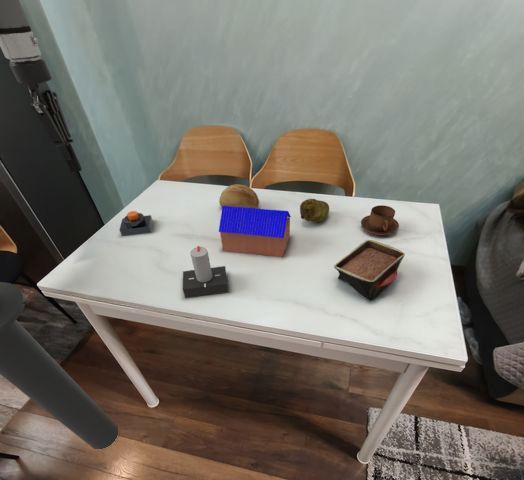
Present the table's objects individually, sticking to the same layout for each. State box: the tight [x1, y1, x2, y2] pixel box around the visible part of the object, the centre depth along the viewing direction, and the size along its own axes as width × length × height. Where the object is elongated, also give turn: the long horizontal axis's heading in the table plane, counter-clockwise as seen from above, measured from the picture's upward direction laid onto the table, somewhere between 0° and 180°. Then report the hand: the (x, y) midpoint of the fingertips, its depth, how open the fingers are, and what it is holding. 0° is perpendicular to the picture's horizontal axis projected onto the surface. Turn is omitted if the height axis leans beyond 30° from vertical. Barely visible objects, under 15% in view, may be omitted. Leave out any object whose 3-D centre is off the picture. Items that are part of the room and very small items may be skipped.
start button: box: [126, 210, 139, 221], centre depth 104 cm, size 4×4×2 cm
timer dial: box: [189, 245, 212, 282], centre depth 81 cm, size 4×4×8 cm
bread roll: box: [218, 183, 260, 208], centre depth 111 cm, size 10×15×8 cm, turn 81°
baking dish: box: [333, 239, 406, 302], centre depth 82 cm, size 14×18×10 cm
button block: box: [119, 212, 154, 237], centre depth 106 cm, size 10×8×4 cm
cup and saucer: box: [360, 204, 400, 236], centre depth 99 cm, size 12×12×6 cm
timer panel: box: [182, 265, 230, 299], centre depth 85 cm, size 12×9×3 cm
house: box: [218, 206, 292, 258], centre depth 94 cm, size 12×20×12 cm, turn 76°
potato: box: [299, 198, 330, 223], centre depth 103 cm, size 8×13×8 cm, turn 118°
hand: (76, 170), depth 88 cm, fingers closed
